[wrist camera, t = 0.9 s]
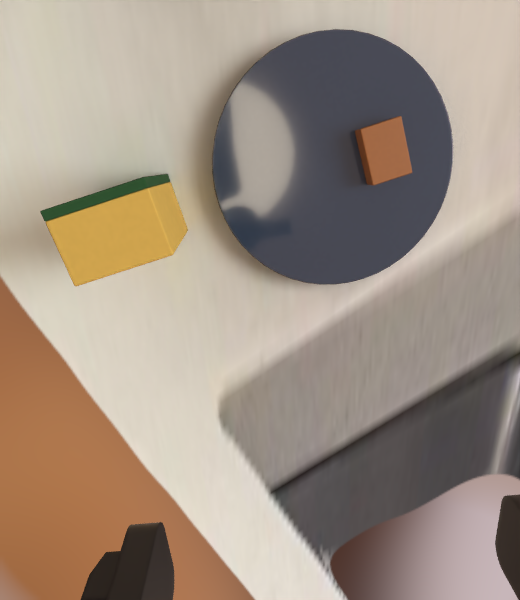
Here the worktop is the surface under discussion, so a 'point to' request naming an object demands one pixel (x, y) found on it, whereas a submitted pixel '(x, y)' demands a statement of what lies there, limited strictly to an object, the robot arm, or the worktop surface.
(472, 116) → the worktop surface
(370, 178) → the orange slab
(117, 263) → the sponge
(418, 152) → the plate
